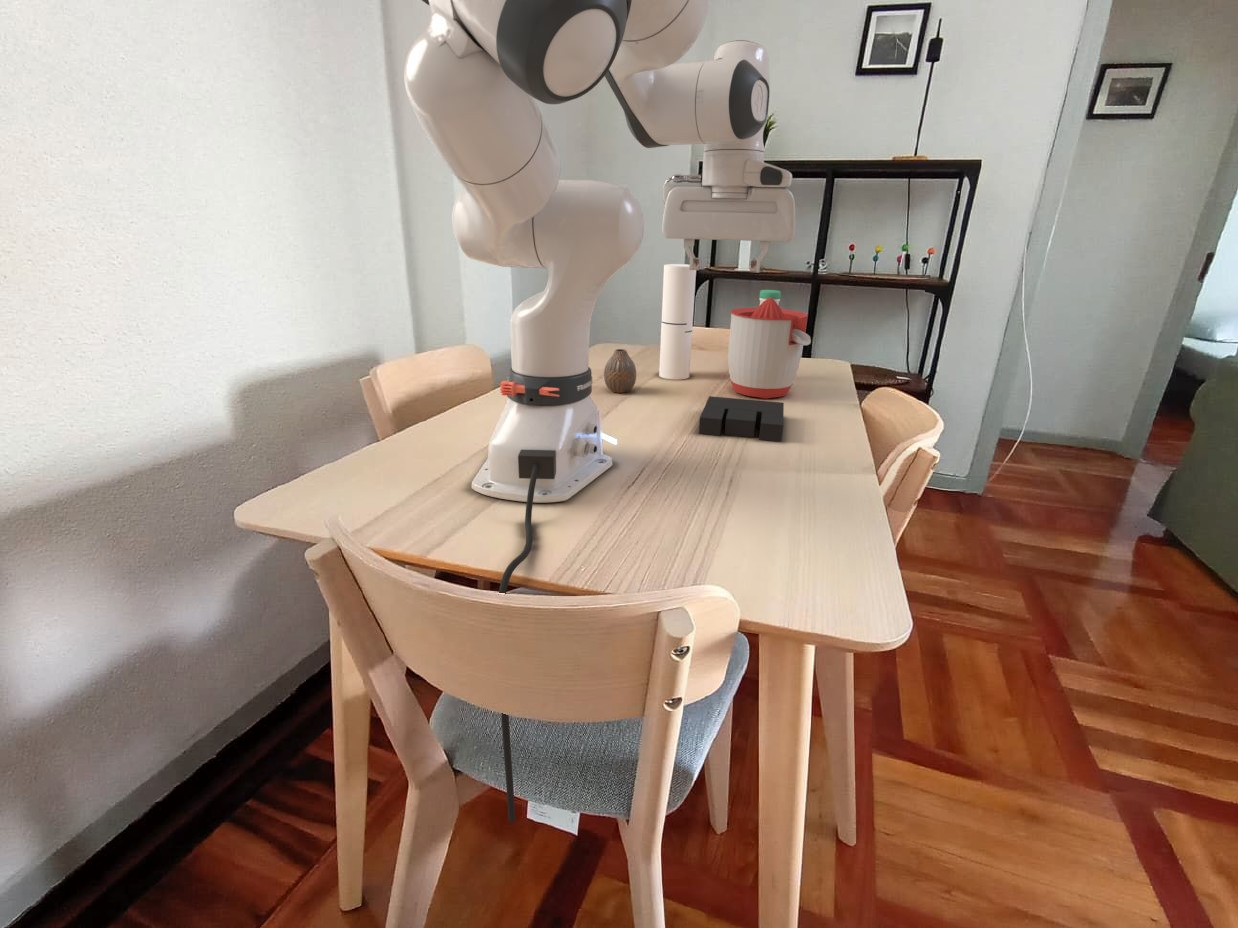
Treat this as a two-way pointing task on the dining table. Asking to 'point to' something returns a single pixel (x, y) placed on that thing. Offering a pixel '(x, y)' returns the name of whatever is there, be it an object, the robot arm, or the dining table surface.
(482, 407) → the dining table surface
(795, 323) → the citrus juicer
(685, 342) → the cylindrical container
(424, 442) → the dining table surface
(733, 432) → the small block
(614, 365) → the vase
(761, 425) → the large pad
